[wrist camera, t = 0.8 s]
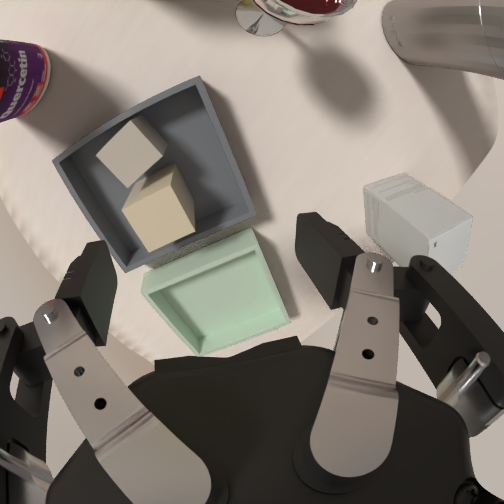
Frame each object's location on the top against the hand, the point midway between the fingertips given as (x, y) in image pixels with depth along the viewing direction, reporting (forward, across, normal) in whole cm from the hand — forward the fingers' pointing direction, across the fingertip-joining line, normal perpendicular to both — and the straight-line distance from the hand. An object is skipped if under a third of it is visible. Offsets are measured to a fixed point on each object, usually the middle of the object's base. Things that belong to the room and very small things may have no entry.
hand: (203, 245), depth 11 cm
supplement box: (+17, -24, +7) cm, 31 cm away
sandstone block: (+17, +3, +3) cm, 18 cm away
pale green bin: (+18, -2, +18) cm, 26 cm away
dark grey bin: (+18, +3, +1) cm, 18 cm away
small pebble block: (+17, +5, -2) cm, 18 cm away
